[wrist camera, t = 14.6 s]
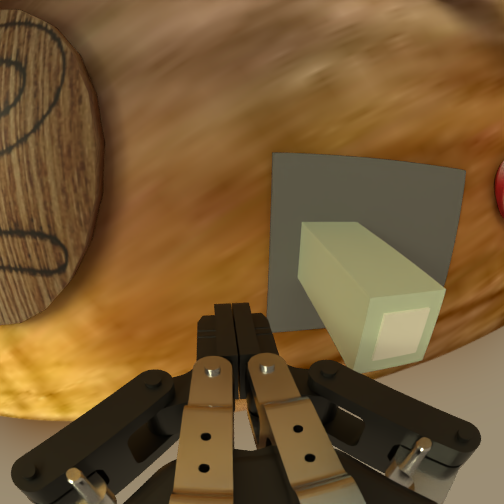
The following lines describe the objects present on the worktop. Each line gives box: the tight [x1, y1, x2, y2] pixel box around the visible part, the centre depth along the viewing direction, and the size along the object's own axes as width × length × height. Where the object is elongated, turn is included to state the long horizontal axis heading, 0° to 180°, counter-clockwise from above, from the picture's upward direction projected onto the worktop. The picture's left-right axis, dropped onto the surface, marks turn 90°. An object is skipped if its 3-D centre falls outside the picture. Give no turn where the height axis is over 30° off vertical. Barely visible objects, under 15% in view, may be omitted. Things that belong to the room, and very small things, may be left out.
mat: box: [267, 152, 466, 333], centre depth 22 cm, size 16×13×1 cm
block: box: [298, 222, 446, 373], centre depth 17 cm, size 4×4×10 cm
